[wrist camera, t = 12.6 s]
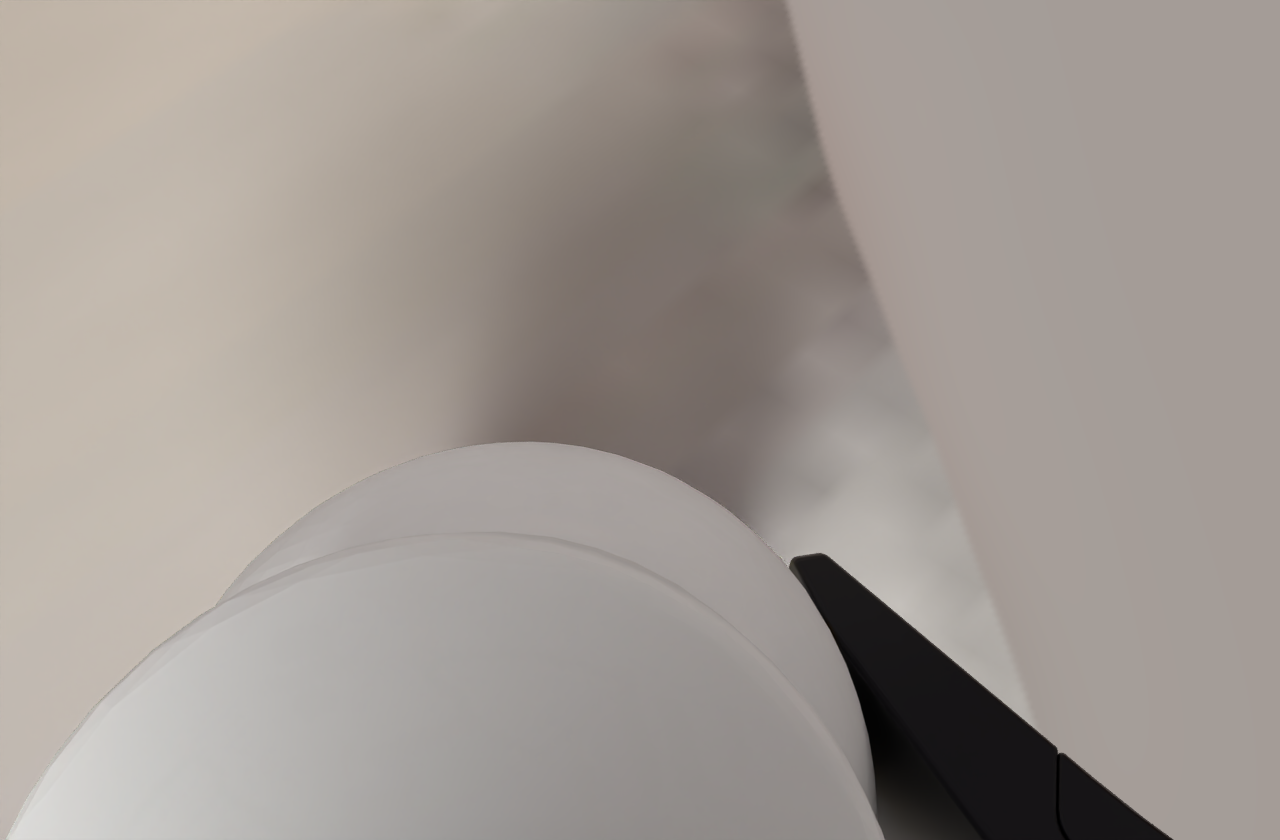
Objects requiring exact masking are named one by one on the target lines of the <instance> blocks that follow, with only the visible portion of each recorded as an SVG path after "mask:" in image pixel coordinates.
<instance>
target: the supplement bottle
mask: <svg viewBox="0 0 1280 840" xmlns="http://www.w3.org/2000/svg"><path fill="white" fill-rule="evenodd" d="M6 840H885V839H884V836H883V833H882V830H881V828H880V826H879V824H878V821H877V800H876V787H875V773H874V766H873V760H872V754H871V748H870V741H869V736H868V732H867V728H866V724H865V721H864V717H863V713H862V710H861V706H860V702H859V699H858V696H857V693H856V690H855V687H854V685H853V682H852V679H851V676H850V673H849V671H848V668H847V665H846V663H845V661H844V659H843V657H842V655H841V652H840V650H839V648H838V646H837V644H836V642H835V640H834V638H833V636H832V634H831V631H830V629H829V628H828V626H827V625H826V623H825V621H824V620H823V618H822V616H821V615H820V613H819V611H818V610H817V608H816V606H815V605H814V603H813V601H812V600H811V598H810V596H809V595H808V593H807V592H806V590H805V588H804V587H803V586H802V584H801V583H800V582H799V581H798V579H797V578H796V577H795V576H794V574H793V573H792V572H791V571H790V569H789V568H788V567H787V565H786V564H785V563H784V562H783V560H782V559H781V558H780V557H779V556H778V555H777V554H776V553H775V552H774V551H773V550H772V549H771V548H770V547H769V546H768V545H767V544H766V543H765V542H764V541H763V540H762V539H761V538H760V537H759V536H758V535H757V534H756V533H755V532H753V531H752V530H751V529H750V528H749V527H748V526H746V525H745V524H744V523H743V522H742V521H741V520H739V519H738V518H737V517H736V516H735V515H734V514H732V513H731V512H730V511H728V510H727V509H726V508H724V507H723V506H721V505H720V504H719V503H717V502H716V501H714V500H713V499H712V498H710V497H708V496H707V495H705V494H703V493H701V492H700V491H698V490H696V489H695V488H693V487H691V486H690V485H688V484H686V483H684V482H683V481H681V480H679V479H677V478H675V477H673V476H671V475H669V474H667V473H665V472H663V471H661V470H659V469H656V468H653V467H651V466H648V465H645V464H643V463H640V462H637V461H634V460H631V459H629V458H626V457H623V456H620V455H617V454H613V453H609V452H604V451H600V450H596V449H591V448H587V447H583V446H575V445H568V444H560V443H548V442H504V443H490V444H481V445H474V446H467V447H460V448H455V449H451V450H447V451H442V452H438V453H434V454H430V455H426V456H422V457H419V458H416V459H413V460H411V461H408V462H405V463H403V464H400V465H397V466H395V467H392V468H389V469H386V470H384V471H381V472H379V473H377V474H375V475H372V476H370V477H368V478H366V479H364V480H362V481H360V482H358V483H356V484H354V485H352V486H351V487H349V488H347V489H345V490H343V491H342V492H340V493H338V494H336V495H335V496H333V497H331V498H330V499H328V500H327V501H325V502H323V503H322V504H320V505H319V506H317V507H315V508H314V509H313V510H311V511H310V512H309V513H307V514H306V515H305V516H303V517H302V518H301V519H300V520H298V521H297V522H296V523H295V524H293V525H292V526H291V527H290V528H288V529H287V530H286V531H285V532H283V533H282V534H281V535H280V536H278V537H277V538H276V539H275V540H274V541H273V542H272V543H271V544H270V545H269V546H268V547H267V548H265V549H264V550H263V551H262V552H261V553H260V554H259V555H258V556H257V557H256V558H255V559H254V560H253V561H252V562H251V563H250V564H249V565H248V566H247V567H246V568H245V569H244V571H243V572H242V573H241V574H240V575H239V576H238V578H237V579H236V580H235V581H234V582H233V583H232V585H231V586H230V587H229V588H228V589H227V590H226V592H225V593H224V594H223V596H222V597H221V599H220V600H219V601H218V603H217V604H216V606H215V607H213V608H212V609H210V610H208V611H206V612H205V613H203V614H201V615H200V616H198V617H197V618H196V619H194V620H193V621H192V622H190V623H189V624H187V625H186V626H185V627H183V628H182V629H181V630H179V631H178V632H177V633H175V634H174V635H173V636H171V637H170V638H168V639H167V640H166V641H164V642H163V643H162V644H160V645H159V646H158V647H156V648H155V649H153V650H152V651H151V652H150V653H149V654H148V655H147V656H146V657H145V658H144V659H143V660H142V661H141V662H140V663H139V664H138V665H137V666H135V667H134V668H133V669H132V670H131V671H130V672H129V673H128V674H127V675H126V676H125V677H124V678H123V679H122V680H121V681H120V682H119V683H118V684H117V685H116V686H115V687H114V688H113V689H112V690H111V691H109V692H108V693H107V694H106V695H105V696H104V697H103V698H102V699H101V700H100V701H99V702H98V703H97V704H96V705H95V706H94V707H93V708H92V709H91V710H90V712H89V713H88V714H87V715H86V717H85V718H84V719H83V720H82V722H81V723H80V724H79V725H78V727H77V728H76V729H75V730H74V732H73V733H72V734H71V735H70V737H69V738H68V739H67V740H66V742H65V743H64V744H63V745H62V747H61V748H60V749H59V750H58V752H57V753H56V754H55V756H54V757H53V759H52V760H51V762H50V763H49V765H48V766H47V768H46V769H45V771H44V772H43V774H42V776H41V777H40V779H39V780H38V782H37V783H36V785H35V786H34V788H33V789H32V791H31V792H30V794H29V795H28V797H27V799H26V801H25V803H24V805H23V807H22V809H21V810H20V812H19V814H18V816H17V818H16V820H15V822H14V824H13V826H12V828H11V830H10V832H9V834H8V836H7V838H6Z"/></svg>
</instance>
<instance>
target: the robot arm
mask: <svg viewBox="0 0 1280 840" xmlns="http://www.w3.org/2000/svg"><path fill="white" fill-rule="evenodd" d="M789 569H790V571H791V572H792V573H793V574H794V576H795V577H796V578H797V579H798V581H799V582H800V583H801V584H802V586H803V587H804V588H805V590H806V592H807V593H808V595H809V596H810V598H811V600H812V601H813V603H814V605H815V606H816V608H817V610H818V611H819V613H820V615H821V616H822V618H823V620H824V621H825V623H826V625H827V626H828V628H829V629H830V631H831V634H832V636H833V638H834V640H835V642H836V644H837V646H838V648H839V650H840V652H841V655H842V657H843V659H844V661H845V663H846V665H847V668H848V671H849V673H850V676H851V679H852V682H853V685H854V687H855V690H856V693H857V696H858V699H859V702H860V706H861V710H862V713H863V717H864V721H865V724H866V728H867V732H868V736H869V741H870V748H871V754H872V760H873V766H874V773H875V787H876V800H877V821H878V824H879V826H880V828H881V830H882V833H883V836H884V839H885V840H1173V839H1172V838H1170V837H1169V836H1168V835H1166V834H1165V833H1163V832H1162V831H1161V830H1159V829H1158V828H1157V827H1155V826H1154V825H1153V824H1151V823H1150V822H1149V821H1147V820H1146V819H1145V818H1143V817H1142V816H1141V815H1139V814H1138V813H1137V812H1136V811H1134V810H1133V809H1132V808H1131V807H1129V806H1128V805H1127V804H1126V803H1124V802H1123V801H1122V800H1121V799H1119V798H1118V797H1117V796H1116V795H1114V794H1113V793H1112V792H1111V791H1109V790H1108V789H1107V788H1106V787H1104V786H1103V785H1102V784H1101V783H1099V782H1098V781H1097V780H1096V779H1094V778H1093V777H1092V776H1091V775H1090V774H1088V773H1087V772H1086V771H1085V770H1084V769H1082V768H1081V767H1080V766H1079V765H1078V764H1076V763H1075V762H1074V761H1073V760H1072V759H1070V758H1069V757H1068V756H1067V755H1066V754H1064V753H1059V754H1058V750H1057V747H1056V746H1055V745H1053V744H1052V743H1051V742H1050V741H1049V740H1047V739H1046V738H1045V737H1044V736H1043V735H1041V734H1040V733H1039V732H1038V731H1037V730H1035V729H1034V728H1033V727H1032V726H1031V725H1029V724H1028V723H1027V722H1026V721H1025V720H1023V719H1022V718H1021V717H1020V716H1019V715H1017V714H1016V713H1015V712H1014V711H1013V710H1011V709H1010V708H1009V707H1008V706H1007V705H1006V704H1004V703H1003V702H1002V701H1001V700H1000V699H998V698H997V697H996V696H995V695H994V694H992V693H991V692H990V691H989V690H988V689H986V688H985V687H984V686H983V685H982V684H980V683H979V682H978V681H977V680H976V679H974V678H973V677H972V676H971V675H970V674H968V673H967V672H966V671H965V670H964V669H962V668H961V667H960V666H959V665H958V664H957V663H955V662H954V661H953V660H952V659H951V658H949V657H948V656H947V655H946V654H945V653H943V652H942V651H941V650H940V649H939V648H937V647H936V646H935V645H934V644H933V643H931V642H930V641H929V640H928V639H927V638H925V637H924V636H923V635H922V634H921V633H919V632H918V631H917V630H916V629H915V628H913V627H912V626H911V625H910V624H909V623H907V622H906V621H905V620H904V619H903V618H902V617H900V616H899V615H898V614H897V613H896V612H894V611H893V610H892V609H891V608H890V607H888V606H887V605H886V604H885V603H884V602H882V601H881V600H880V599H879V598H878V597H876V596H875V595H874V594H873V593H872V592H870V591H869V590H868V589H867V588H866V587H864V586H863V585H862V584H861V583H860V582H858V581H857V580H856V579H855V578H854V577H852V576H851V575H850V574H849V573H848V572H847V571H845V570H844V569H843V568H842V567H841V566H839V565H838V564H837V563H836V562H835V561H833V560H832V559H831V558H830V557H828V556H827V555H825V554H822V553H816V554H809V555H803V556H797V557H794V558H793V559H792V560H791V562H790V566H789Z"/></svg>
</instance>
